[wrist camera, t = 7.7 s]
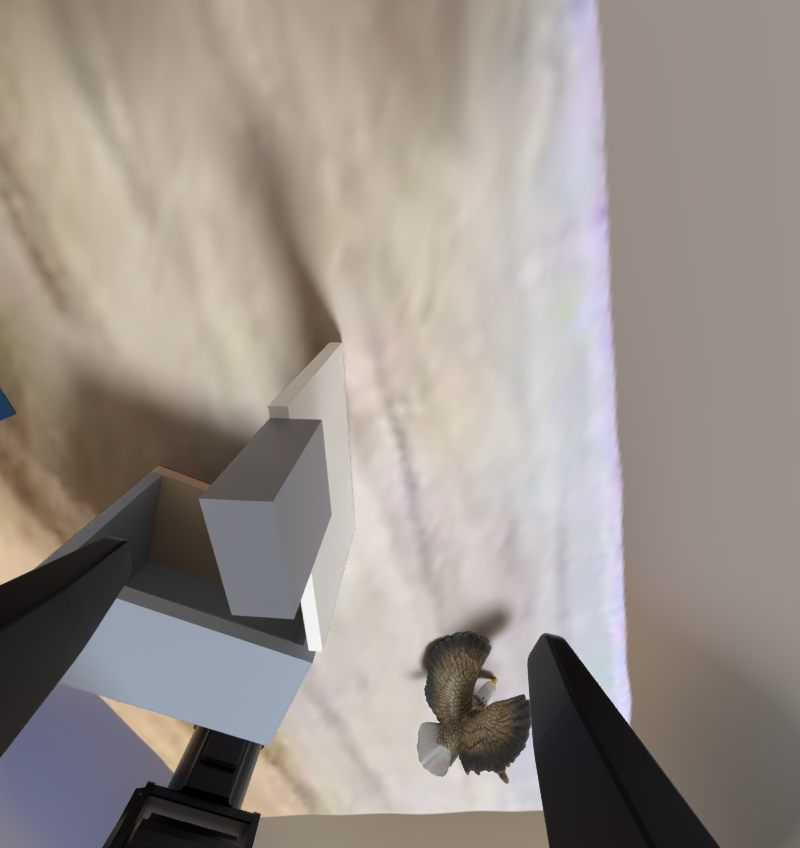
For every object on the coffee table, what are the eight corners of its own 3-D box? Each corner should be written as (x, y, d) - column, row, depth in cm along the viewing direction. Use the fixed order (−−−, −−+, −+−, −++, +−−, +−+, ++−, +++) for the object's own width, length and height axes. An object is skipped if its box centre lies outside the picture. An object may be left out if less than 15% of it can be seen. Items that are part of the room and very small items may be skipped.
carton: (311, 613, 28) (268, 746, 20) (144, 555, 26) (36, 676, 19) (348, 535, 24) (312, 663, 17) (158, 465, 23) (32, 570, 16)
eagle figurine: (530, 727, 30) (556, 680, 24) (487, 834, 25) (508, 804, 20) (446, 662, 34) (452, 608, 28) (395, 745, 29) (392, 700, 24)
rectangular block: (345, 528, 23) (274, 765, 13) (329, 342, 18) (194, 482, 8) (371, 529, 23) (321, 770, 13) (362, 342, 18) (269, 485, 8)
